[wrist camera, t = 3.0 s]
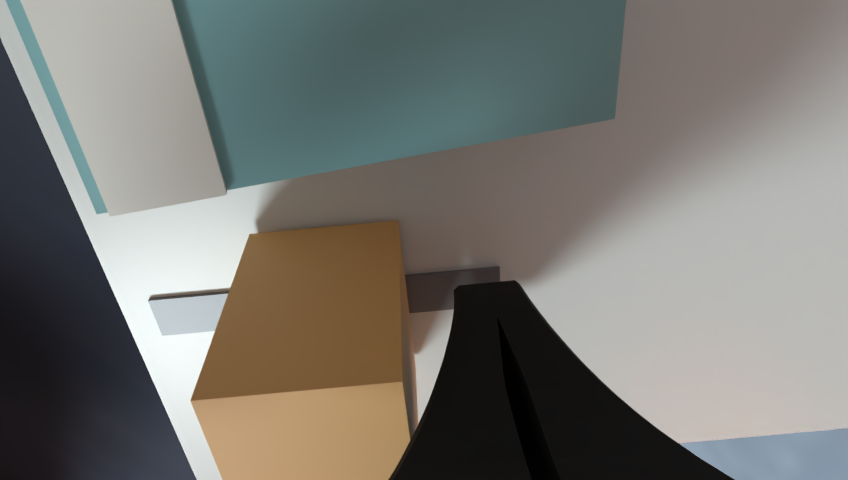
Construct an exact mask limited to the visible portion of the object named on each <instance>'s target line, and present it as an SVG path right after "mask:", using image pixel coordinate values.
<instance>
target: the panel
mask: <svg viewBox="0 0 848 480" xmlns="http://www.w3.org/2000/svg"><path fill="white" fill-rule="evenodd" d="M0 38H1V40H2V43H3V45H4V47H5V49H6V52H7V54H8V56H9V58H10V61H11V63H12V65H13V67H14V70H15V72H16V74H17V76H18V79H19V81H20V83H21V85H22V88H23V90H24V92H25V94H26V97H27V99H28V101H29V103H30V106H31V108H32V110H33V112H34V115H35V117H36V119H37V121H38V124H39V126H40V128H41V130H42V133H43V135H44V137H45V139H46V142H47V144H48V146H49V148H50V151H51V153H52V155H53V157H54V160H55V162H56V164H57V166H58V169H59V171H60V173H61V175H62V178H63V180H64V182H65V184H66V187H67V189H68V191H69V193H70V196H71V198H72V200H73V202H74V205H75V207H76V209H77V211H78V214H79V216H80V218H81V220H82V223H83V225H84V227H85V229H86V232H87V234H88V236H89V238H90V241H91V243H92V245H93V247H94V250H95V252H96V254H97V256H98V259H99V261H100V263H101V265H102V268H103V270H104V272H105V274H106V277H107V279H108V281H109V283H110V286H111V288H112V290H113V292H114V295H115V297H116V299H117V301H118V304H119V306H120V308H121V310H122V313H123V315H124V317H125V319H126V322H127V324H128V326H129V328H130V331H131V333H132V335H133V337H134V340H135V342H136V344H137V346H138V348H139V351H140V353H141V355H142V357H143V360H144V362H145V364H146V366H147V369H148V371H149V373H150V375H151V378H152V380H153V382H154V384H155V387H156V389H157V391H158V393H159V396H160V398H161V400H162V402H163V405H164V407H165V409H166V411H167V414H168V416H169V418H170V420H171V423H172V425H173V427H174V429H175V432H176V434H177V436H178V438H179V441H180V443H181V445H182V447H183V450H184V452H185V454H186V456H187V459H188V461H189V463H190V465H191V468H192V470H193V472H194V474H195V477H196V479H197V480H222V477H221V475H220V472H219V470H218V467H217V465H216V463H215V460H214V458H213V455H212V453H211V450H210V448H209V445H208V443H207V441H206V438H205V436H204V433H203V431H202V428H201V426H200V423H199V421H198V419H197V416H196V414H195V411H194V409H193V406H192V404H191V401H190V400H191V398H192V395H193V392H194V389H195V386H196V383H197V381H198V378H199V375H200V372H201V369H202V366H203V364H204V361H205V358H206V355H207V352H208V350H209V347H210V344H211V341H212V338H213V335H214V333H215V330H216V327H217V324H218V321H219V318H220V316H221V313H222V310H223V307H224V304H225V302H226V299H227V296H228V293H229V290H230V287H231V285H232V282H233V279H234V276H235V273H236V270H237V268H238V265H239V262H240V259H241V256H242V254H243V251H244V248H245V245H246V242H247V239H248V237H249V234H254V233H265V232H276V231H287V230H298V229H309V228H320V227H331V226H342V225H353V224H364V223H375V222H386V221H397V220H398V221H399V229H400V238H401V246H402V255H403V263H404V272H405V280H406V289H407V297H408V306H409V314H410V323H411V331H412V340H413V348H414V357H415V366H416V386H417V406H418V424H419V422H420V419H421V417H422V415H423V413H424V410H425V408H426V406H427V403H428V401H429V398H430V396H431V393H432V391H433V388H434V385H435V382H436V379H437V376H438V373H439V370H440V367H441V364H442V361H443V358H444V355H445V351H446V347H447V343H448V339H449V335H450V330H451V325H452V319H453V312H454V292H453V290H454V289H455V288H457V287H458V286H459V285H468V284H479V283H490V282H500V281H511V280H515V281H517V282H518V283H519V284H520V285H521V286H522V288H523V290H524V291H525V292H526V294H527V295H528V297H529V298H530V300H531V301H532V303H533V304H534V305H535V307H536V308H537V309H538V311H539V312H540V313H541V314H542V316H543V317H544V318H545V320H546V321H547V322H548V323H549V325H550V326H551V327H552V328H553V329H554V331H555V332H556V333H557V334H558V335H559V336H560V338H561V339H562V340H563V341H564V342H565V343H566V344H567V346H568V347H569V348H570V349H571V350H572V351H573V352H574V353H575V354H576V355H577V357H578V358H579V359H580V360H581V361H582V362H583V363H584V364H585V365H586V366H587V367H588V368H589V369H590V370H591V371H592V372H593V373H594V374H595V375H596V376H597V377H598V378H599V379H600V380H601V381H602V382H603V383H604V384H605V385H606V386H607V387H609V388H610V389H611V390H612V391H613V392H614V393H615V394H616V395H617V396H618V397H620V398H621V399H622V400H623V401H624V402H625V403H627V404H628V405H629V406H630V407H631V408H632V409H634V410H635V411H636V412H637V413H639V414H640V415H641V416H642V417H644V418H645V419H646V420H647V421H649V422H650V423H651V424H652V425H654V426H655V427H656V428H657V429H659V430H660V431H662V432H663V433H664V434H666V435H667V436H669V437H670V438H672V439H673V440H674V441H676V442H677V443H688V442H699V441H710V440H721V439H732V438H743V437H754V436H765V435H776V434H787V433H799V432H810V431H821V430H832V429H843V428H848V0H626V8H625V18H624V29H623V39H622V49H621V60H620V70H619V81H618V91H617V102H616V112H615V119H611V120H606V121H601V122H595V123H590V124H584V125H579V126H573V127H568V128H563V129H557V130H552V131H546V132H541V133H535V134H530V135H525V136H519V137H514V138H508V139H503V140H498V141H492V142H487V143H481V144H476V145H470V146H465V147H460V148H454V149H449V150H443V151H438V152H432V153H427V154H422V155H416V156H411V157H405V158H400V159H395V160H389V161H384V162H378V163H373V164H367V165H362V166H357V167H351V168H346V169H340V170H335V171H329V172H324V173H319V174H313V175H308V176H302V177H297V178H292V179H286V180H281V181H275V182H270V183H264V184H259V185H254V186H248V187H243V188H237V189H232V190H227V195H225V196H219V197H214V198H208V199H203V200H198V201H192V202H187V203H181V204H176V205H171V206H165V207H160V208H155V209H149V210H144V211H138V212H133V213H128V214H122V215H117V216H111V217H110V216H109V213H108V212H107V213H102V214H96V212H95V209H94V207H93V205H92V202H91V200H90V197H89V195H88V193H87V190H86V188H85V186H84V183H83V181H82V179H81V176H80V174H79V172H78V169H77V167H76V165H75V162H74V160H73V158H72V155H71V153H70V151H69V148H68V146H67V144H66V141H65V139H64V136H63V134H62V132H61V129H60V127H59V125H58V122H57V120H56V118H55V115H54V113H53V111H52V108H51V106H50V104H49V101H48V99H47V97H46V94H45V92H44V90H43V87H42V85H41V83H40V80H39V78H38V76H37V73H36V71H35V68H34V66H33V64H32V61H31V59H30V57H29V54H28V52H27V50H26V47H25V45H24V43H23V40H22V38H21V36H20V33H19V31H18V29H17V26H16V24H15V22H14V19H13V17H12V15H11V12H10V10H9V7H8V5H7V3H6V0H0Z"/></svg>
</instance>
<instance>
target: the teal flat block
mask: <svg viewBox="0 0 848 480" xmlns="http://www.w3.org/2000/svg"><path fill="white" fill-rule="evenodd" d="M6 3H7V5H8V7H9V10H10V12H11V15H12V17H13V19H14V22H15V24H16V26H17V29H18V31H19V33H20V36H21V38H22V40H23V43H24V45H25V47H26V50H27V52H28V54H29V57H30V59H31V61H32V64H33V66H34V68H35V71H36V73H37V76H38V78H39V80H40V83H41V85H42V87H43V90H44V92H45V94H46V97H47V99H48V101H49V104H50V106H51V108H52V111H53V113H54V115H55V118H56V120H57V122H58V125H59V127H60V129H61V132H62V134H63V136H64V139H65V141H66V144H67V146H68V148H69V151H70V153H71V155H72V158H73V160H74V162H75V165H76V167H77V169H78V172H79V174H80V176H81V179H82V181H83V183H84V186H85V188H86V190H87V193H88V195H89V197H90V200H91V202H92V205H93V207H94V209H95V212H96V214H102V213H107V212H108V213H109V216H110V217H111V216H117V215H122V214H128V213H133V212H138V211H144V210H149V209H155V208H160V207H165V206H171V205H176V204H181V203H187V202H192V201H198V200H203V199H208V198H214V197H219V196H225V195H227V190H232V189H237V188H243V187H248V186H254V185H259V184H264V183H270V182H275V181H281V180H286V179H292V178H297V177H302V176H308V175H313V174H319V173H324V172H329V171H335V170H340V169H346V168H351V167H357V166H362V165H367V164H373V163H378V162H384V161H389V160H395V159H400V158H405V157H411V156H416V155H422V154H427V153H432V152H438V151H443V150H449V149H454V148H460V147H465V146H470V145H476V144H481V143H487V142H492V141H498V140H503V139H508V138H514V137H519V136H525V135H530V134H535V133H541V132H546V131H552V130H557V129H563V128H568V127H573V126H579V125H584V124H590V123H595V122H601V121H606V120H611V119H615V112H616V102H617V91H618V81H619V70H620V60H621V49H622V39H623V29H624V18H625V8H626V0H6Z"/></svg>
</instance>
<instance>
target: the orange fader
mask: <svg viewBox="0 0 848 480" xmlns="http://www.w3.org/2000/svg"><path fill="white" fill-rule="evenodd" d="M190 401H191V404H192V406H193V409H194V411H195V414H196V416H197V419H198V421H199V423H200V426H201V428H202V431H203V433H204V436H205V438H206V441H207V443H208V445H209V448H210V450H211V453H212V455H213V458H214V460H215V463H216V465H217V467H218V470H219V472H220V475H221V477H222V480H388V479H389V478H390V476H391V475H392V473H393V472H394V470H395V468H396V466H397V465H398V463H399V461H400V459H401V457H402V456H403V454H404V452H405V450H406V448H407V446H408V444H409V442H410V440H411V438H412V436H413V434H414V432H415V430H416V428H417V426H418V406H417V386H416V366H415V357H414V348H413V340H412V331H411V323H410V314H409V306H408V297H407V289H406V280H405V272H404V263H403V255H402V246H401V238H400V229H399V221H398V220H397V221H386V222H375V223H364V224H353V225H342V226H331V227H320V228H309V229H298V230H287V231H276V232H265V233H254V234H249V237H248V239H247V242H246V245H245V248H244V251H243V254H242V256H241V259H240V262H239V265H238V268H237V270H236V273H235V276H234V279H233V282H232V285H231V287H230V290H229V293H228V296H227V299H226V302H225V304H224V307H223V310H222V313H221V316H220V318H219V321H218V324H217V327H216V330H215V333H214V335H213V338H212V341H211V344H210V347H209V350H208V352H207V355H206V358H205V361H204V364H203V366H202V369H201V372H200V375H199V378H198V381H197V383H196V386H195V389H194V392H193V395H192V398H191V400H190Z"/></svg>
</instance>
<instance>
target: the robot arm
mask: <svg viewBox="0 0 848 480" xmlns="http://www.w3.org/2000/svg"><path fill="white" fill-rule="evenodd" d="M453 292H454V312H453V319H452V325H451V330H450V335H449V339H448V343H447V347H446V351H445V355H444V358H443V361H442V364H441V367H440V370H439V373H438V376H437V379H436V382H435V385H434V388H433V391H432V393H431V396H430V398H429V401H428V403H427V406H426V408H425V410H424V413H423V415H422V417H421V419H420V422H419V424H418V426H417V428H416V430H415V432H414V434H413V436H412V438H411V440H410V442H409V444H408V446H407V448H406V450H405V452H404V454H403V456H402V457H401V459H400V461H399V463H398V465H397V466H396V468H395V470H394V472H393V473H392V475H391V476H390V478H389V479H388V480H734V479H732V478H731V477H729V476H727V475H726V474H724V473H723V472H721V471H719V470H718V469H716V468H715V467H713V466H711V465H710V464H708V463H707V462H705V461H703V460H702V459H700V458H699V457H697V456H696V455H694V454H693V453H691V452H690V451H689V450H687V449H686V448H684V447H683V446H681V445H680V444H679V443H677V442H676V441H674V440H673V439H672V438H670V437H669V436H667V435H666V434H664V433H663V432H662V431H660V430H659V429H657V428H656V427H655V426H654V425H652V424H651V423H650V422H649V421H647V420H646V419H645V418H644V417H642V416H641V415H640V414H639V413H637V412H636V411H635V410H634V409H632V408H631V407H630V406H629V405H628V404H627V403H625V402H624V401H623V400H622V399H621V398H620V397H618V396H617V395H616V394H615V393H614V392H613V391H612V390H611V389H610V388H609V387H607V386H606V385H605V384H604V383H603V382H602V381H601V380H600V379H599V378H598V377H597V376H596V375H595V374H594V373H593V372H592V371H591V370H590V369H589V368H588V367H587V366H586V365H585V364H584V363H583V362H582V361H581V360H580V359H579V358H578V357H577V355H576V354H575V353H574V352H573V351H572V350H571V349H570V348H569V347H568V346H567V344H566V343H565V342H564V341H563V340H562V339H561V338H560V336H559V335H558V334H557V333H556V332H555V331H554V329H553V328H552V327H551V326H550V325H549V323H548V322H547V321H546V320H545V318H544V317H543V316H542V314H541V313H540V312H539V311H538V309H537V308H536V307H535V305H534V304H533V303H532V301H531V300H530V298H529V297H528V295H527V294H526V292H525V291H524V290H523V288H522V286H521V285H520V284H519V283H518V282H517V281H515V280H511V281H500V282H490V283H479V284H468V285H459V286H458V287H457V288H455V289H454V290H453Z"/></svg>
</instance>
